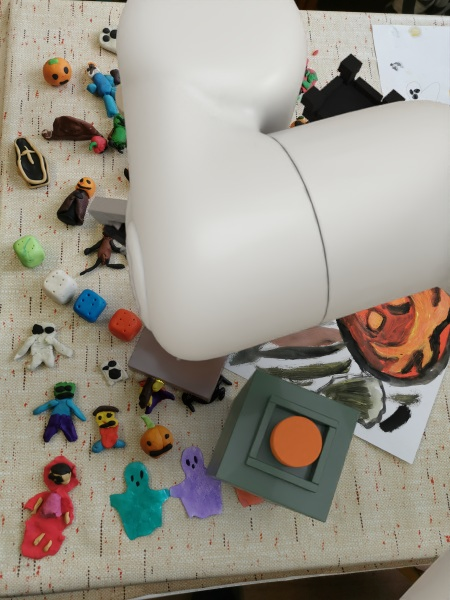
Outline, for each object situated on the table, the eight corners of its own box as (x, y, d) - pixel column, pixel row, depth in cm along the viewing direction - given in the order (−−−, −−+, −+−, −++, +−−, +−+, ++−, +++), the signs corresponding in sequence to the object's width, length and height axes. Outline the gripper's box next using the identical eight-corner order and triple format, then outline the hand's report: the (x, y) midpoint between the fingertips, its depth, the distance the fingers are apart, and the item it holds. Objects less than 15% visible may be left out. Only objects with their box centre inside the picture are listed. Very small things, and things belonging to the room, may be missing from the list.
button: (308, 474, 41) (312, 474, 40) (263, 456, 42) (266, 455, 40) (323, 428, 43) (328, 427, 41) (279, 410, 43) (283, 408, 41)
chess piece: (266, 192, 73) (296, 94, 54) (307, 155, 75) (350, 48, 56) (311, 233, 71) (358, 148, 52) (351, 195, 73) (411, 99, 54)
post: (280, 506, 62) (330, 525, 41) (204, 474, 62) (216, 477, 41) (306, 428, 64) (366, 409, 43) (233, 398, 65) (258, 365, 44)
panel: (209, 402, 64) (210, 399, 61) (129, 369, 65) (126, 365, 62) (252, 295, 68) (255, 287, 65) (176, 265, 69) (176, 256, 66)
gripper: (365, 185, 33) (305, 283, 49) (94, 81, 34) (124, 212, 50) (325, 297, 30) (276, 361, 47) (35, 183, 31) (86, 285, 47)
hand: (197, 284), depth 48 cm, fingers open, 9 cm apart
